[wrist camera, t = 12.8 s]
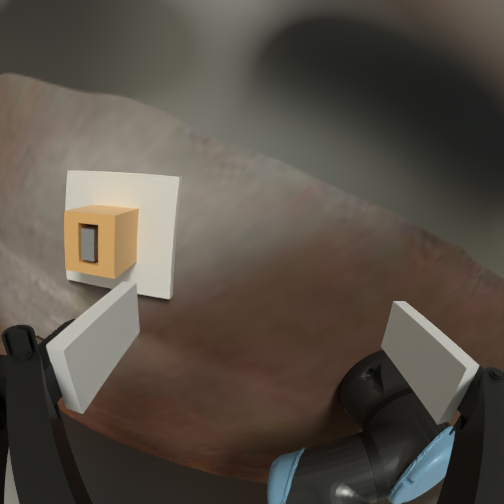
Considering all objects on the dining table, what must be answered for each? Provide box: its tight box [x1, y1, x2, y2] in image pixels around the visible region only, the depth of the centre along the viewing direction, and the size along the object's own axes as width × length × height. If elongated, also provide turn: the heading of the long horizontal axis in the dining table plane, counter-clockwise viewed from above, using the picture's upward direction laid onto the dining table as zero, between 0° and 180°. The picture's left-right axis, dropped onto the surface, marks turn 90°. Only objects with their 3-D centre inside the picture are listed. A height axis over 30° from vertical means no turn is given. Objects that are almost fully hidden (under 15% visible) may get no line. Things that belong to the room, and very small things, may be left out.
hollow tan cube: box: [64, 205, 139, 279], centre depth 31 cm, size 7×7×7 cm
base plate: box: [65, 171, 182, 299], centre depth 35 cm, size 16×17×2 cm
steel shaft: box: [81, 224, 98, 262], centre depth 31 cm, size 4×2×7 cm, turn 172°
